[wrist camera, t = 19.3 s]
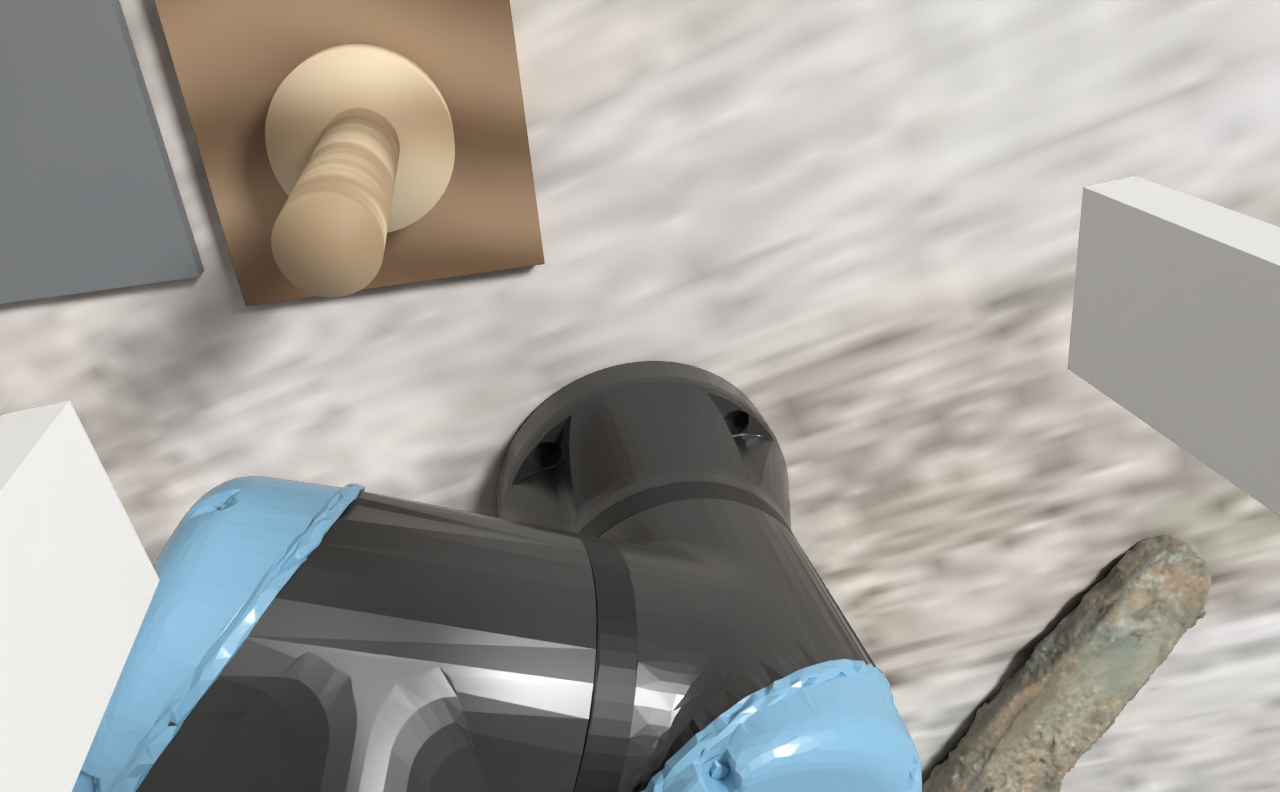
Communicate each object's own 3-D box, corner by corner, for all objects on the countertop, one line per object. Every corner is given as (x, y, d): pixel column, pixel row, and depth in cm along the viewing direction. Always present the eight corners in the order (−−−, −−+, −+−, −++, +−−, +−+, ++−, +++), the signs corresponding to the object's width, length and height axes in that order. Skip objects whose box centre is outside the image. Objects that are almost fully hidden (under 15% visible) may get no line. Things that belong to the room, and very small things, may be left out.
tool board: (542, 257, 43) (544, 264, 42) (249, 298, 41) (245, 306, 40) (500, -57, 36) (502, -56, 36) (154, -25, 35) (147, -24, 34)
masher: (467, 205, 40) (484, 347, 26) (299, 228, 39) (227, 387, 25) (436, 32, 37) (438, 92, 23) (254, 52, 36) (142, 126, 22)
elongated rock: (1208, 545, 62) (1104, 496, 59) (1271, 589, 58) (1160, 539, 55) (931, 909, 72) (827, 884, 69) (964, 973, 67) (854, 949, 64)
